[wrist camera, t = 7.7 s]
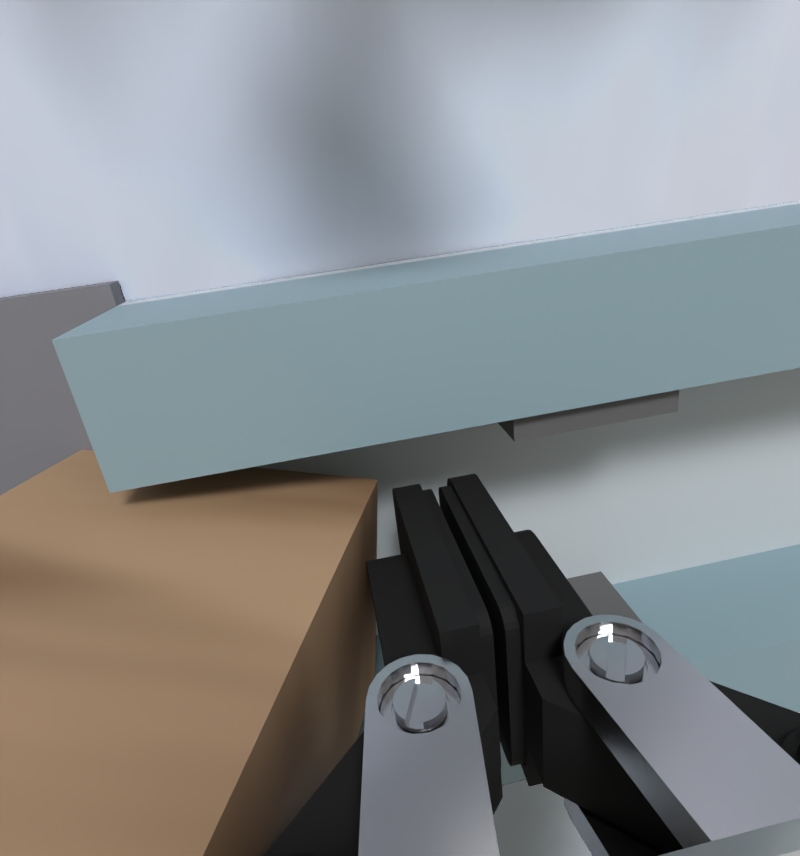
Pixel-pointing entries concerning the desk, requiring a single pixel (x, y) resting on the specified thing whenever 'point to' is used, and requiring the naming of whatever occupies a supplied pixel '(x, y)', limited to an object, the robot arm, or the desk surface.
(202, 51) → the desk surface
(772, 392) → the chute
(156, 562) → the walnut block
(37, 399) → the mat
